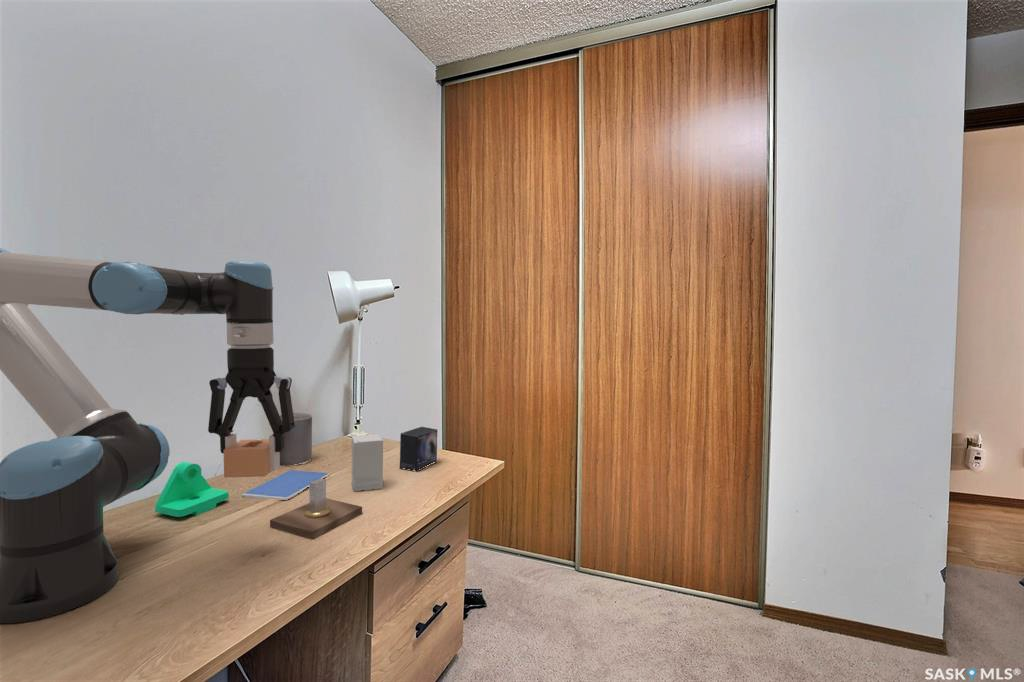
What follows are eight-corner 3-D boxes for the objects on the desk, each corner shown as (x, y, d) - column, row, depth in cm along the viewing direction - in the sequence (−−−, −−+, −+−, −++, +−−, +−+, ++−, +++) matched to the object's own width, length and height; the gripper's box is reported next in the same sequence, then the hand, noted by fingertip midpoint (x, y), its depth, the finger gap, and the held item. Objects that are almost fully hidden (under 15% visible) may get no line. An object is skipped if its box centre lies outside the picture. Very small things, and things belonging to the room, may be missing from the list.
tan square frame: (265, 476, 86) (264, 447, 85) (224, 477, 85) (223, 448, 85) (279, 464, 93) (279, 438, 92) (242, 465, 92) (241, 438, 92)
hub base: (312, 539, 94) (312, 497, 94) (269, 527, 99) (269, 486, 98) (362, 513, 107) (362, 475, 106) (322, 503, 112) (322, 467, 111)
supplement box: (383, 488, 122) (383, 440, 121) (352, 492, 119) (353, 442, 118) (380, 479, 129) (380, 433, 128) (351, 482, 126) (351, 435, 125)
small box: (416, 472, 135) (417, 436, 135) (398, 469, 138) (398, 433, 137) (438, 462, 145) (438, 428, 144) (420, 459, 147) (421, 426, 147)
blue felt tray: (290, 473, 134) (290, 468, 134) (331, 476, 132) (331, 471, 132) (240, 499, 115) (240, 493, 115) (287, 503, 113) (287, 497, 113)
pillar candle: (270, 461, 142) (270, 412, 141) (301, 454, 150) (301, 407, 149) (287, 468, 136) (287, 417, 135) (318, 460, 144) (319, 411, 143)
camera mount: (180, 522, 101) (179, 474, 100) (155, 516, 103) (154, 470, 103) (230, 502, 112) (230, 459, 111) (206, 497, 114) (206, 455, 114)
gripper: (181, 348, 83) (184, 477, 84) (300, 348, 85) (302, 474, 86) (204, 345, 90) (207, 464, 91) (313, 345, 92) (314, 461, 94)
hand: (253, 469), depth 89 cm, fingers closed on tan square frame, 7 cm apart
